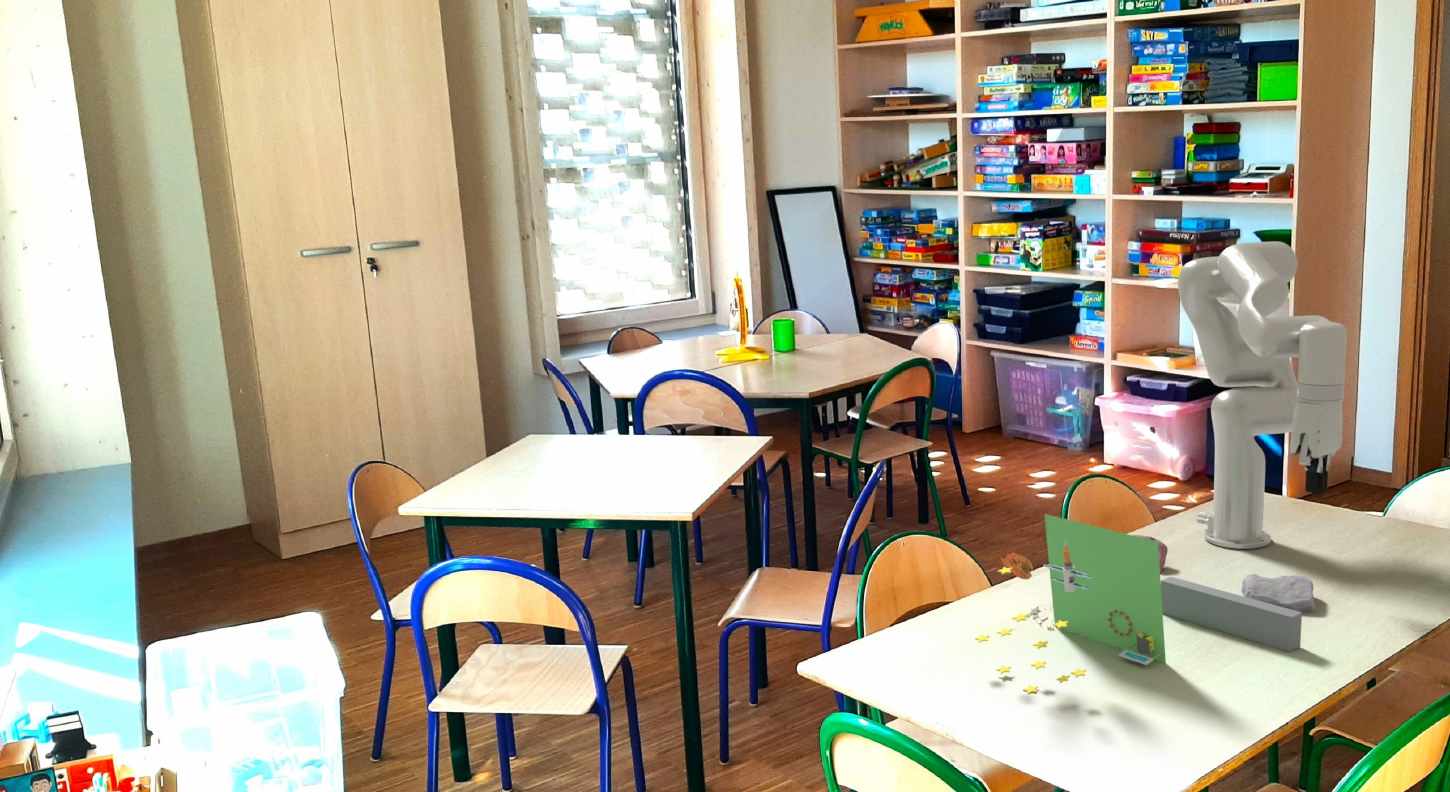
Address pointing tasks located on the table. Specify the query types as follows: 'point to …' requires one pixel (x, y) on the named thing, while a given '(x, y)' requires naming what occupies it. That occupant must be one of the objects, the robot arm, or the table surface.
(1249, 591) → the stone block
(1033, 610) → the miniature furniture
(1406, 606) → the table surface
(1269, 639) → the board
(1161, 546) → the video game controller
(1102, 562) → the toy game set
